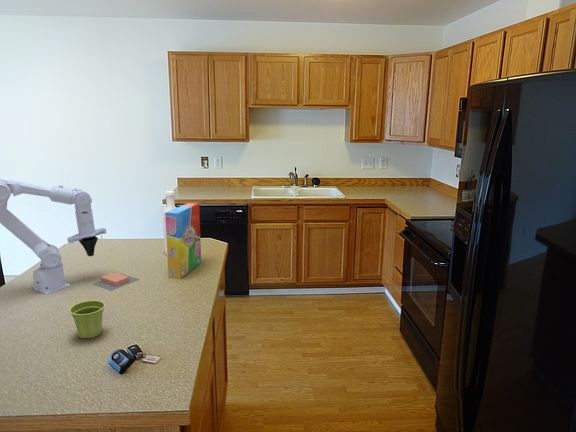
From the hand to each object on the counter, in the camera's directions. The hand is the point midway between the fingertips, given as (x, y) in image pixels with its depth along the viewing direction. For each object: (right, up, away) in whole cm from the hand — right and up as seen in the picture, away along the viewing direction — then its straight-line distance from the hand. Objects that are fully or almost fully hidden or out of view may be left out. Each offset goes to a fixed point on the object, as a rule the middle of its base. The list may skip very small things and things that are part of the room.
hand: (90, 255), depth 156 cm
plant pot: (+18, -20, -37) cm, 46 cm away
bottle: (+23, -3, +34) cm, 41 cm away
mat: (+10, -10, 0) cm, 14 cm away
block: (+8, -10, -3) cm, 13 cm away
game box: (+33, -8, +14) cm, 37 cm away
